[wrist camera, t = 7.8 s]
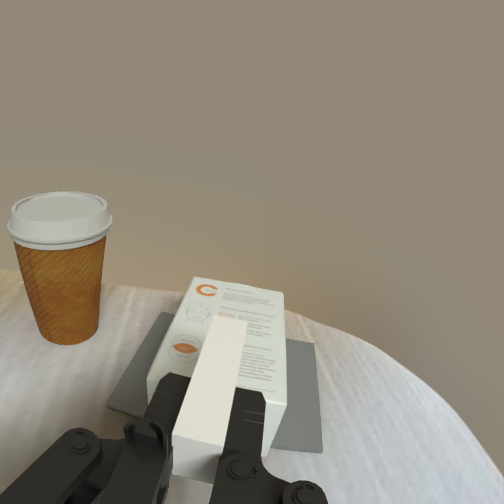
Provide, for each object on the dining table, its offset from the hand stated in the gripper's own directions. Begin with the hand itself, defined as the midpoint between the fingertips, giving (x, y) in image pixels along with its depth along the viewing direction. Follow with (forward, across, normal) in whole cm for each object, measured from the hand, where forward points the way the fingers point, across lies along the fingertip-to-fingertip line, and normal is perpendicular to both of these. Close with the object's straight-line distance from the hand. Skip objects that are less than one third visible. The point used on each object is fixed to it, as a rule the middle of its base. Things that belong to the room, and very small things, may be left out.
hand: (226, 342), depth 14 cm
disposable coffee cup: (+9, -16, -11) cm, 21 cm away
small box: (0, 0, -7) cm, 7 cm away
